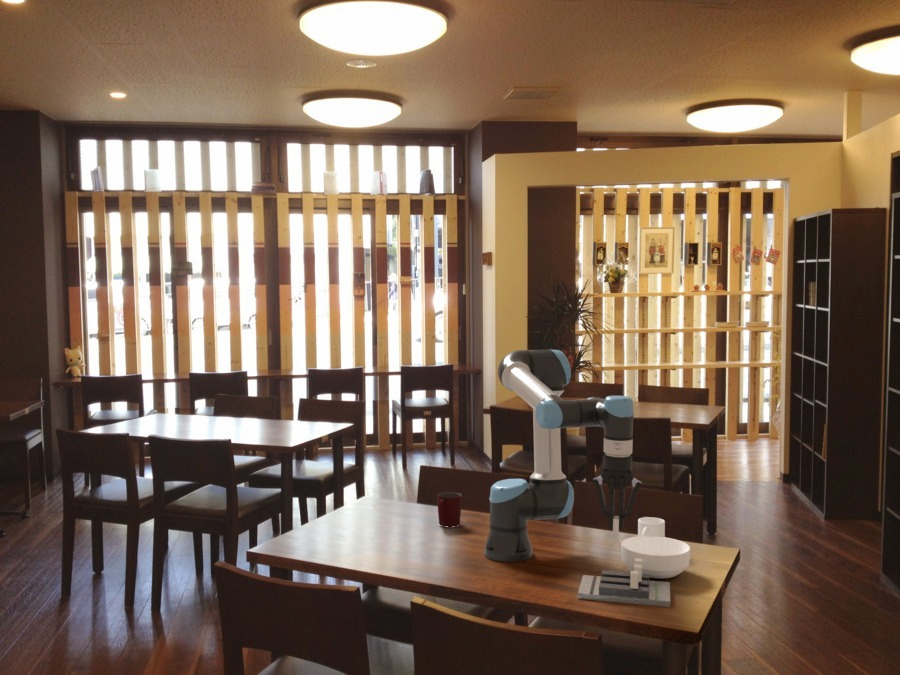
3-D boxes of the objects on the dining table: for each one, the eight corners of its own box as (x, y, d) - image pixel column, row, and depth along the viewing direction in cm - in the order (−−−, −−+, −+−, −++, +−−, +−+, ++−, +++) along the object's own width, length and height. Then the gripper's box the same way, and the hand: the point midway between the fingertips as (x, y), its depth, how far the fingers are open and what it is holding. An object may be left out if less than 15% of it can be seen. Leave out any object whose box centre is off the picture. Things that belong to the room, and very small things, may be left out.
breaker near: (630, 588, 213) (630, 573, 213) (630, 585, 215) (630, 570, 215) (637, 588, 212) (638, 574, 212) (638, 585, 214) (638, 571, 214)
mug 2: (654, 561, 248) (654, 527, 247) (629, 556, 252) (629, 523, 252) (668, 551, 257) (668, 519, 257) (643, 546, 262) (644, 515, 262)
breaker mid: (633, 581, 218) (634, 567, 218) (634, 578, 220) (634, 564, 220) (641, 582, 217) (641, 567, 217) (641, 579, 220) (641, 564, 219)
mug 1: (451, 532, 279) (451, 500, 278) (428, 528, 283) (428, 497, 282) (465, 523, 290) (465, 493, 289) (443, 520, 293) (443, 490, 293)
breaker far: (634, 575, 223) (634, 560, 223) (634, 572, 225) (635, 558, 225) (641, 575, 223) (642, 561, 222) (642, 572, 225) (642, 558, 225)
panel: (577, 598, 215) (577, 585, 215) (582, 580, 230) (583, 568, 230) (670, 607, 209) (670, 593, 209) (669, 587, 224) (669, 575, 224)
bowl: (687, 565, 243) (688, 538, 243) (692, 587, 224) (692, 557, 224) (621, 560, 248) (621, 533, 248) (620, 582, 229) (620, 552, 228)
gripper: (591, 455, 211) (590, 543, 213) (642, 458, 208) (640, 547, 210) (594, 450, 219) (592, 534, 220) (643, 453, 215) (641, 539, 217)
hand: (615, 541), depth 215 cm, fingers closed
